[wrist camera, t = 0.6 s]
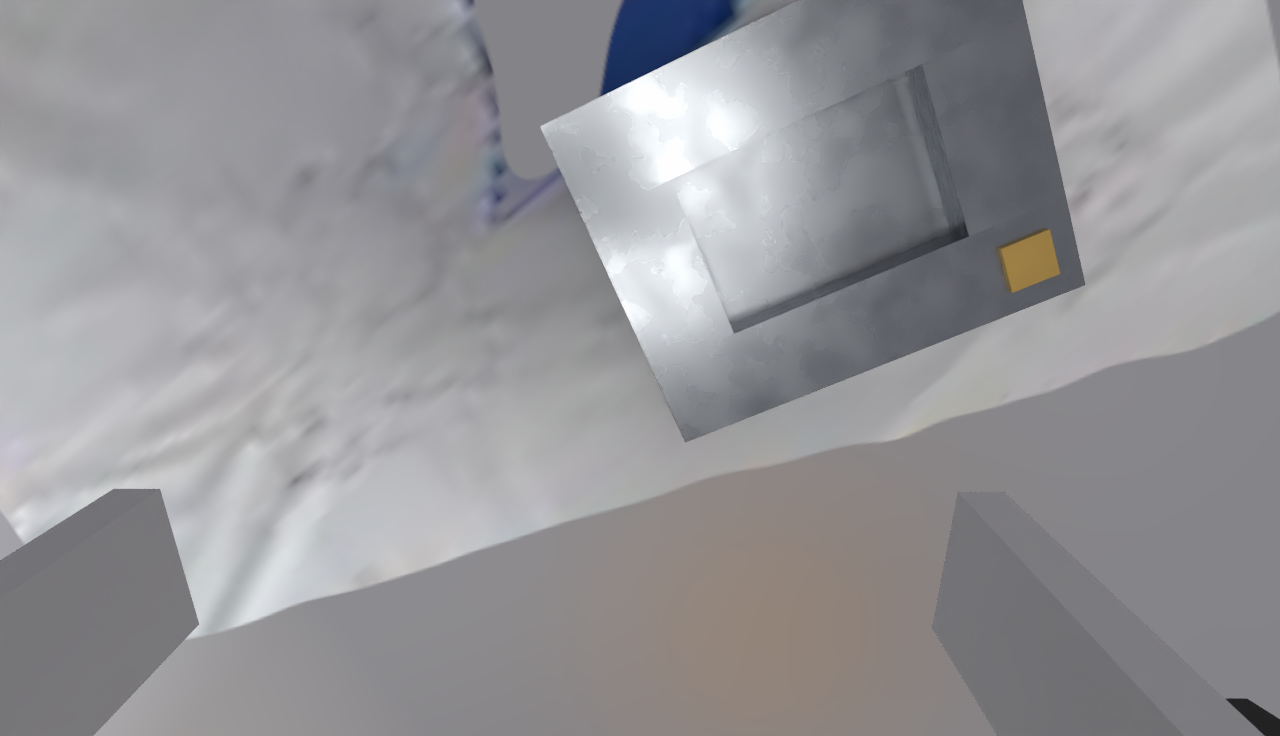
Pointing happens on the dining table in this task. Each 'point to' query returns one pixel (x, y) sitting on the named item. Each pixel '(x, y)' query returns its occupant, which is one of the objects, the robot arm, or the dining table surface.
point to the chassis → (822, 196)
